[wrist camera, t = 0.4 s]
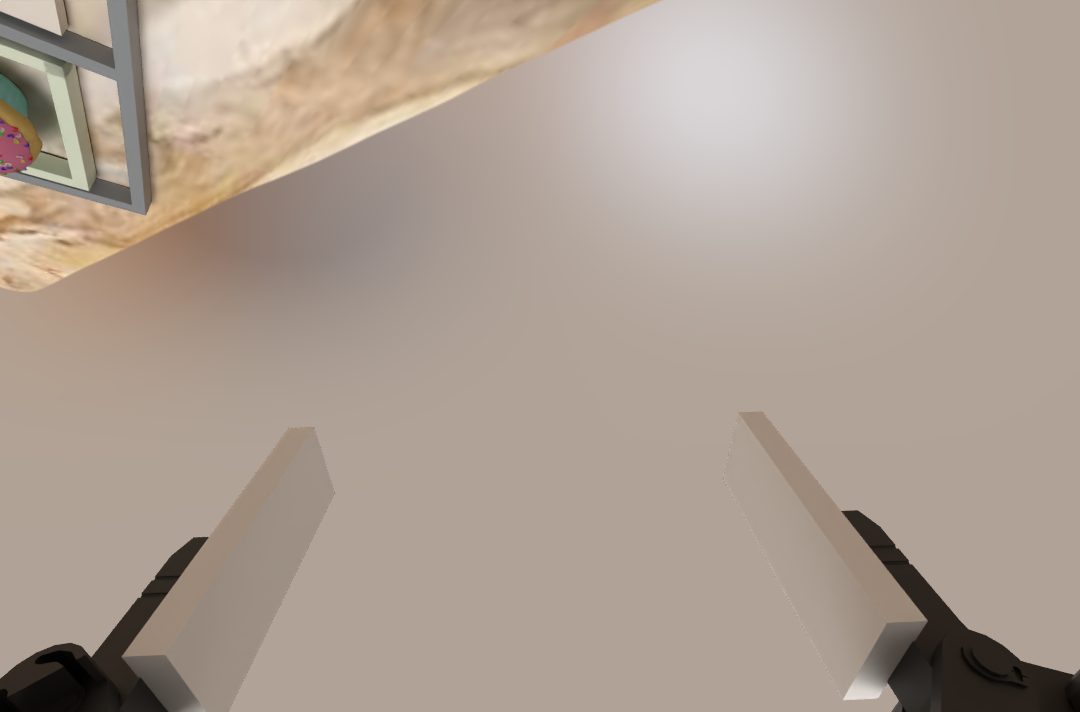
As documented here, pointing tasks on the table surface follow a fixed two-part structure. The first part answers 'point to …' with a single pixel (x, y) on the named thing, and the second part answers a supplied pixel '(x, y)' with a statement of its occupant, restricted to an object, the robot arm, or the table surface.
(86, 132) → the pale green frame
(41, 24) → the broken strip
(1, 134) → the cupcake
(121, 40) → the board
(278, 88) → the table surface
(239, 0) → the table surface
